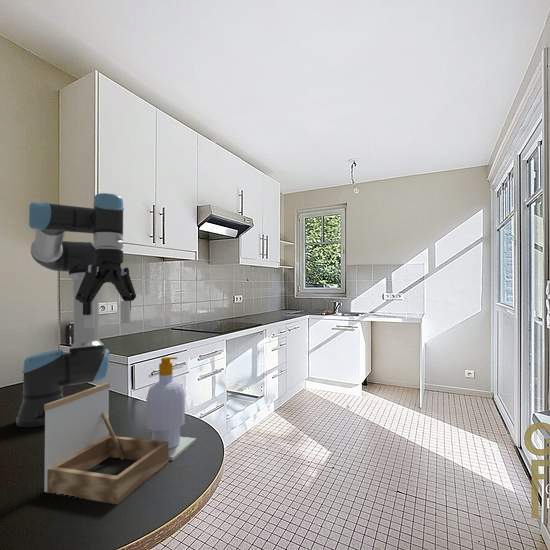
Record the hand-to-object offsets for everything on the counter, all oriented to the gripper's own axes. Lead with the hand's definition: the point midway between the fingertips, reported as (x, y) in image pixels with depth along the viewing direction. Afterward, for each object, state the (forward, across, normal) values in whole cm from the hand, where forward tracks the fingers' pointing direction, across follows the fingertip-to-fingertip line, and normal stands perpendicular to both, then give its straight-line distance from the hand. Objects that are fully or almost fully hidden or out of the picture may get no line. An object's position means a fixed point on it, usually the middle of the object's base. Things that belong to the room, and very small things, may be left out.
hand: (108, 325), depth 96 cm
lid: (+35, -10, 0) cm, 36 cm away
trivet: (+35, +6, -14) cm, 38 cm away
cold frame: (+35, -10, -10) cm, 37 cm away
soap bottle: (+34, +6, -14) cm, 37 cm away
